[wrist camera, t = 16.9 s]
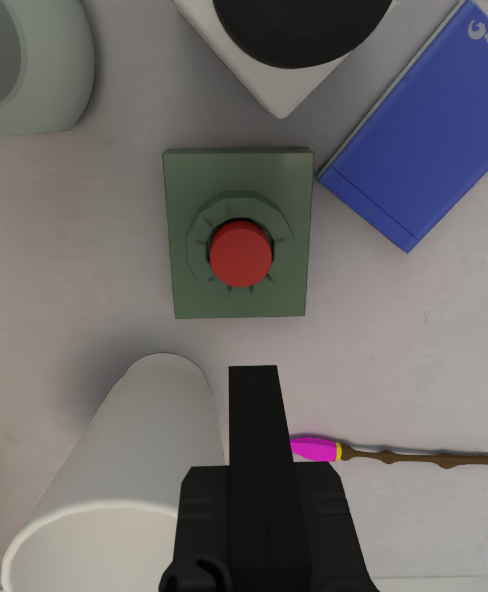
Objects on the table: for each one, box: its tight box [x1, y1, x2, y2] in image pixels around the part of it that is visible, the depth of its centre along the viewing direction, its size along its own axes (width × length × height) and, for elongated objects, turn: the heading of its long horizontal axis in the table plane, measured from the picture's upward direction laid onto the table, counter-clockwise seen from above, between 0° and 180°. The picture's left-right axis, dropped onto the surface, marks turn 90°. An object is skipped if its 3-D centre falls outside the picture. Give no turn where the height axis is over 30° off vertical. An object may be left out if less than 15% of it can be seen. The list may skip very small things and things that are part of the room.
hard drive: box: [315, 0, 488, 254], centre depth 29 cm, size 2×8×12 cm
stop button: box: [210, 221, 272, 287], centre depth 27 cm, size 4×4×2 cm
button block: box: [162, 147, 314, 319], centre depth 30 cm, size 11×9×4 cm
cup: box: [1, 353, 226, 592], centre depth 29 cm, size 12×12×16 cm
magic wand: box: [290, 437, 488, 469], centre depth 40 cm, size 2×2×30 cm
